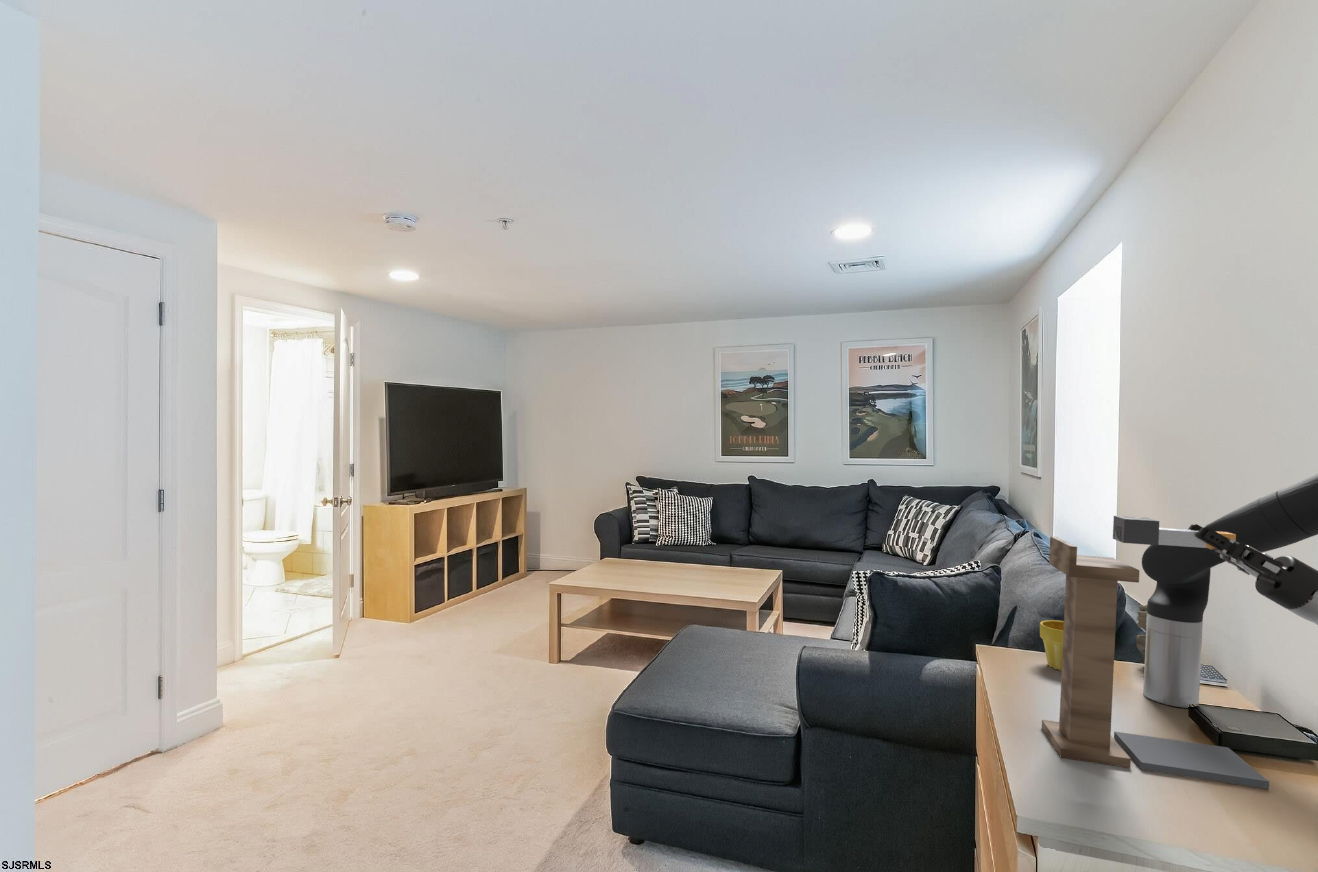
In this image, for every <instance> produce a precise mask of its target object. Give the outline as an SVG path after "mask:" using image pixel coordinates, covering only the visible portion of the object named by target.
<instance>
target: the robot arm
mask: <svg viewBox="0 0 1318 872" xmlns="http://www.w3.org/2000/svg"><path fill="white" fill-rule="evenodd" d="M1187 530H1199V531H1198V533H1197V534H1196V537H1197V538H1199V539H1200V540H1202V541H1204V542H1206V543H1208V544H1209V545H1211V546H1213V547H1215V548H1216V549H1214V548H1200V547H1186V546H1171V545H1148V547H1147V548H1146V549H1145V550H1144V552H1143V554H1142V557H1141V566H1142V570H1143V571H1144V573H1145V574H1146V576H1148V577H1149V578H1150V579H1152V580H1153V581H1155V582H1156V586H1155V590H1154V592H1153V594H1152V595H1151V596H1150V597H1149V598H1148V600H1147V604H1146V605H1147V623H1146V631H1145V634H1146V646H1145V664H1144V670H1143V671H1144V672H1143V690H1142V694H1143V695H1144V696H1145V697H1146V698H1147V699H1149V700H1152V701H1154V702H1156V703H1159V704H1164V705H1167V706H1172V707H1177V708H1182V709H1183V708H1184V709H1189V708H1188V706H1189V704H1199V705H1200V689H1201V687H1200V686H1201V668H1202V667H1201V666H1202V648H1203V646H1202V645H1203V644H1202V643H1203V624H1204V622H1203V621H1204V619H1203V618H1204V613H1205V610H1206V609H1207V606H1208V602H1209V595H1210V594H1209V593H1210V584H1211V583H1210V582H1211V569H1212V568H1214V567H1215V566H1218V565H1220V564H1223V563H1226V562H1227V563H1228V564H1230V565H1232V566H1235V567H1236V568H1237V570H1238V571H1240V572H1242V573H1243V574H1246V575H1248V576H1250V575H1251V576H1252V577H1254V578H1256V580H1255V582H1254V583H1255V590H1256V592H1257V593H1259V594H1260V595H1261V596H1263V597H1265V598H1267V599H1269V600H1270V601H1272V602H1274V603H1275V604H1276V605H1279V606H1280V607H1283V608H1284V609H1286V610H1288V611H1290V612H1291V613H1292V614H1295V615H1296V616H1298V617H1300V618H1302V619H1304V620H1306V621H1309V622H1310V623H1314V624H1315V625H1317V626H1318V569H1316V568H1314V567H1312V566H1311V565H1309V564H1306V563H1304V562H1303V561H1301V560H1299V559H1297V558H1296V557H1294V556H1291V555H1282V556H1278V557H1275V558H1274V557H1273V556H1271V555H1270V554H1267V553H1266V552H1270V551H1272V550H1277V549H1281V548H1284V547H1287V546H1290V545H1293V544H1296V543H1299V542H1300V541H1301V542H1302V541H1303V540H1307V539H1309V538H1312V537H1315V536H1317V535H1318V473H1317V474H1313V475H1312V476H1310V477H1307V478H1305V479H1303V480H1301V481H1298V482H1296V483H1294V484H1291V485H1289V486H1287V487H1284V488H1280V489H1278V490H1276V491H1274V492H1271V493H1269V494H1266V495H1264V496H1262V497H1260V498H1258V499H1256V500H1254V501H1251V502H1249V503H1248V504H1245V505H1243V506H1241V507H1238V508H1237V509H1234V510H1233V511H1231V512H1229V513H1227V514H1225V515H1223V516H1221V517H1219V518H1217V519H1216V520H1213V521H1211V522H1210V523H1207V524H1205V525H1203V526H1201V525H1199V524H1197V523H1192V524H1190V526H1189V527H1188V529H1187ZM1216 531H1218V532H1228V533H1232V534H1236V540H1234V539H1229V540H1228V538H1226V537H1225V536H1223V535H1221V534H1219V533H1217V532H1216ZM1221 548H1222V549H1221Z"/></svg>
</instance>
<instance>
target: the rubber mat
mask: <svg viewBox="0 0 1318 872" xmlns="http://www.w3.org/2000/svg"><path fill="white" fill-rule="evenodd" d="M1113 739H1114V740H1115V741H1116V742H1117V743H1118V744H1119V746H1120V747H1121V748H1122V749H1123V750H1124V751H1125V753H1126V754H1127V755H1128V756H1129V757H1130V758H1131V761H1133V762H1134V764H1135V765H1136V766H1137V767H1138V768H1139V769H1140V770H1141V771H1148V772H1154V773H1162V774H1166V775H1167V774H1168V775H1174V776H1179V777H1187V778H1192V779H1198V780H1206V781H1213V782H1219V783H1224V784H1225V783H1227V784H1233V785H1240V786H1245V787H1253V788H1259V789H1266V790H1269V789H1270V781H1269V780H1268V779H1267V778H1266V777H1264V776H1263V775H1262V774H1261V773H1260V772H1258V770H1256V769H1255V768H1253V766H1251V765H1250V764H1249V763H1248V762H1246V761H1245V760H1244V759H1242V757H1241V756H1239V755H1238V754H1237V753H1236V752H1234V751H1233V749H1230V747H1226V746H1221V745H1220V746H1219V745H1212V744H1205V743H1199V742H1192V741H1186V740H1185V741H1184V740H1177V739H1170V738H1163V737H1156V736H1148V735H1142V734H1135V733H1126V732H1120V731H1113Z"/></svg>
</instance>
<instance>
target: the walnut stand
mask: <svg viewBox="0 0 1318 872" xmlns="http://www.w3.org/2000/svg"><path fill="white" fill-rule="evenodd" d="M1048 557H1049V559H1048V564H1049V565H1050V566H1052V567H1053V568H1055V569H1056V570H1057V571H1059V572H1061V573H1062V574H1065V590H1064V591H1065V592H1064V614H1063V615H1064V616H1063V621H1064V632H1063V654H1062V671H1061V678H1060V679H1061V680H1060V703H1059V720H1058V721H1054V720H1049V719H1042V720H1041V729H1042V731H1043V732H1044V734H1045V735H1046V737H1047V739H1048V740H1049V742H1050V743H1051V745H1052V744H1053V745H1052V746H1053V748H1054V749H1055V750H1056V752H1057V754H1058V755H1059V757H1060V758H1061V757H1063V759H1069V760H1075V761H1081V762H1082V761H1083V762H1089V763H1095V764H1101V765H1110V766H1116V767H1121V768H1128V769H1131V767H1132V766H1131V765H1132V763H1131V761H1132V759H1131V757H1130V756H1129V755H1128V754H1127V753H1126V752H1125V750H1124V749H1123V748H1122V747H1121V746H1120V745H1119V744H1118V742H1117V741H1116V740H1115V739H1114V737H1113V736H1112V733H1111V731H1112V714H1113V713H1112V711H1113V710H1112V709H1113V690H1114V689H1113V687H1114V673H1115V672H1114V670H1115V668H1114V667H1115V651H1116V650H1115V647H1116V627H1117V626H1116V625H1117V624H1116V623H1117V621H1116V620H1117V602H1118V582H1127V583H1138V584H1139V583H1140V570H1139V569H1138V568H1136V567H1133V566H1131V565H1129V564H1127V563H1125V562H1122V561H1120V560H1118V559H1116V558H1114V557H1107V556H1106V557H1105V556H1097V555H1096V556H1094V555H1093V556H1092V555H1082V554H1078V546H1076V545H1074V544H1072V543H1070V542H1068V541H1066V540H1064V539H1062V538H1059V537H1058V536H1052V535H1050V538H1049V556H1048Z"/></svg>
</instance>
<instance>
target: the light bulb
mask: <svg viewBox="0 0 1318 872" xmlns="http://www.w3.org/2000/svg"><path fill="white" fill-rule="evenodd" d="M1138 608H1139V609H1138V610H1137V612H1136V613H1137V615H1138V616H1137V617H1136V619H1137V621H1138V622H1137V627H1138V628H1141V629H1143V630H1144V631H1145V632H1146V623H1147V604H1146V605H1139V606H1138ZM1145 646H1146V633H1144V634H1136V648H1137V650H1138V651H1139V653H1140V656H1141V663H1142V664H1143V665H1145Z"/></svg>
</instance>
